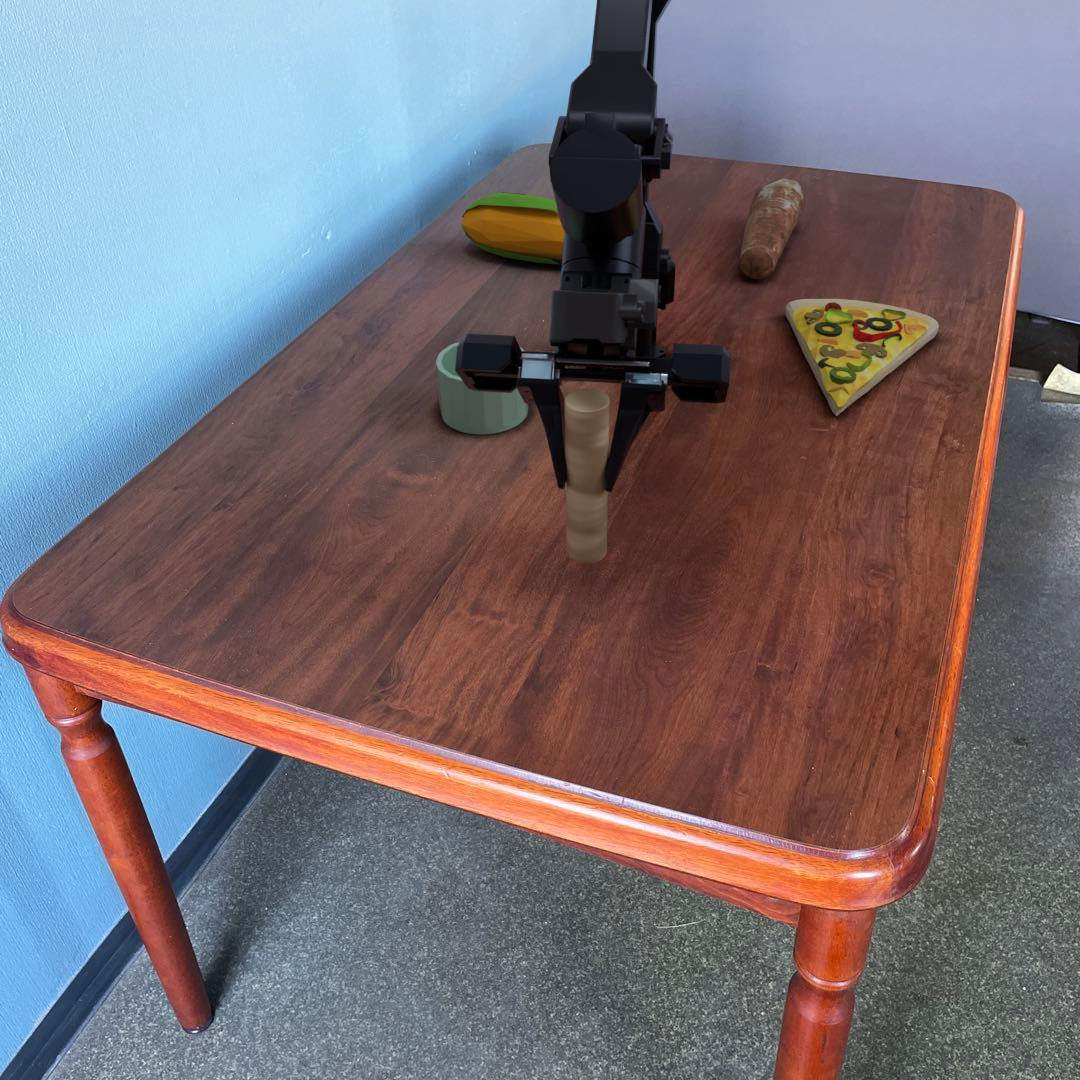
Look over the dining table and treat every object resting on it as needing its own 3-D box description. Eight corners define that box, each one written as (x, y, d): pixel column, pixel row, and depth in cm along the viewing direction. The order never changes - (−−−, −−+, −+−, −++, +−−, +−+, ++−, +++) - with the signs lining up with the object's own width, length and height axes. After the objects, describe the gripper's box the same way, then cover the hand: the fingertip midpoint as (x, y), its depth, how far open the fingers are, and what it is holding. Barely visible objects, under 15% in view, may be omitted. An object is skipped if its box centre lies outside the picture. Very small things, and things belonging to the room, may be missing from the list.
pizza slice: (937, 328, 112) (943, 302, 110) (921, 431, 96) (928, 403, 95) (787, 308, 116) (791, 282, 114) (750, 404, 101) (753, 376, 99)
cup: (495, 379, 105) (492, 329, 102) (545, 414, 100) (544, 362, 97) (424, 407, 102) (419, 356, 98) (473, 444, 97) (469, 391, 93)
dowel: (589, 533, 81) (590, 383, 73) (615, 552, 79) (618, 401, 71) (558, 549, 80) (555, 398, 72) (583, 569, 78) (583, 416, 70)
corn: (475, 173, 129) (633, 195, 122) (481, 233, 134) (632, 256, 127) (447, 199, 124) (609, 223, 117) (454, 260, 129) (610, 286, 122)
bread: (803, 223, 134) (809, 179, 131) (775, 287, 120) (781, 240, 117) (752, 217, 136) (757, 173, 132) (719, 280, 122) (724, 233, 118)
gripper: (449, 222, 69) (427, 460, 68) (742, 231, 67) (727, 478, 65) (479, 282, 80) (460, 488, 79) (731, 292, 78) (718, 505, 76)
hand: (584, 489), depth 74 cm, fingers closed on dowel, 3 cm apart
